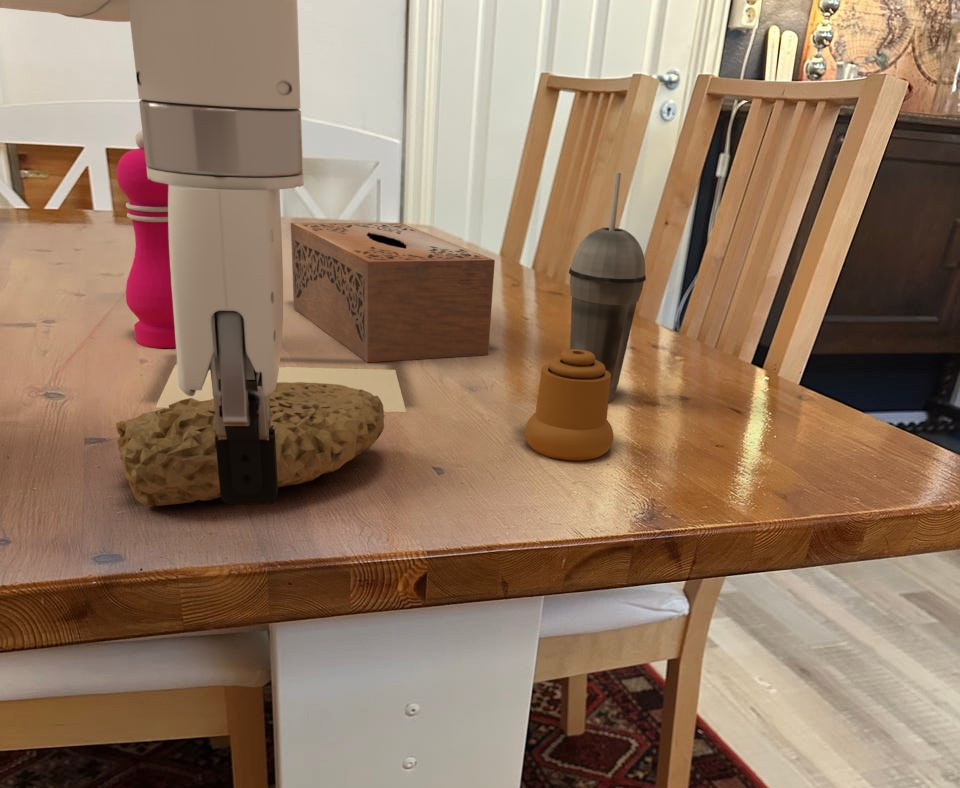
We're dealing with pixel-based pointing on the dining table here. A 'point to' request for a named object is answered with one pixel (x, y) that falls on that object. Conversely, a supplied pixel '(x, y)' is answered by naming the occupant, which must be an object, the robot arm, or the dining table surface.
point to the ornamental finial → (572, 408)
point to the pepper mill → (148, 251)
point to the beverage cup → (606, 293)
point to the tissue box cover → (392, 290)
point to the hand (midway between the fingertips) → (250, 497)
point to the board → (365, 379)
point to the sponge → (294, 415)
